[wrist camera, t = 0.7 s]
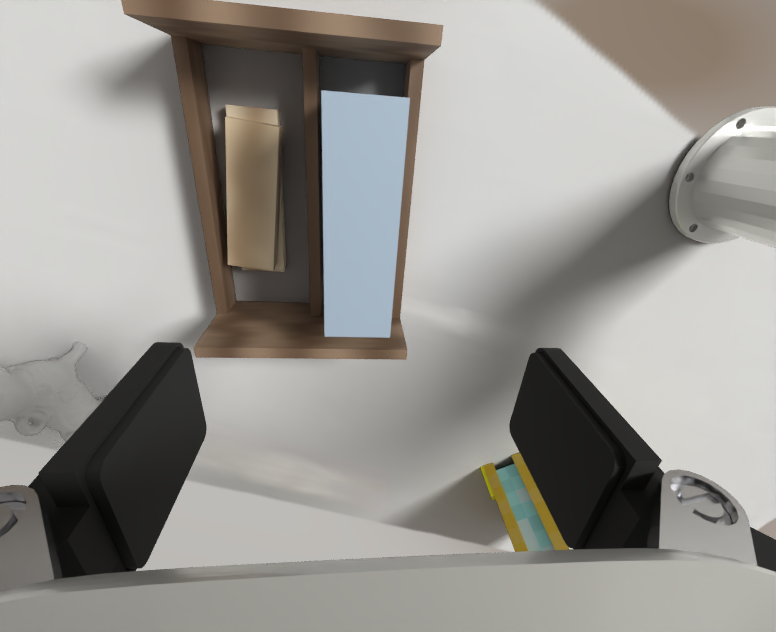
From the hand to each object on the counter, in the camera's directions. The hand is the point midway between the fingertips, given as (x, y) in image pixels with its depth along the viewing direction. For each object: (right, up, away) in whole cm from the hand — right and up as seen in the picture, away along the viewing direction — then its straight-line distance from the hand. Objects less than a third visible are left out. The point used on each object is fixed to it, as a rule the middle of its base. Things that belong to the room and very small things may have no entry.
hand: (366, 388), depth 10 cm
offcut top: (-11, +13, +22) cm, 28 cm away
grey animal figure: (-33, -4, +31) cm, 46 cm away
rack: (-7, +13, +24) cm, 28 cm away
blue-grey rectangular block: (-2, +13, +25) cm, 28 cm away
